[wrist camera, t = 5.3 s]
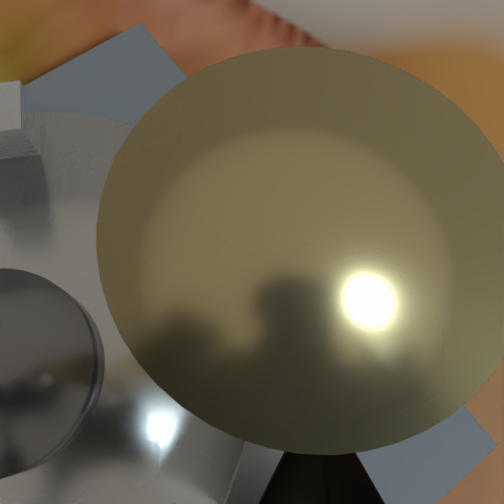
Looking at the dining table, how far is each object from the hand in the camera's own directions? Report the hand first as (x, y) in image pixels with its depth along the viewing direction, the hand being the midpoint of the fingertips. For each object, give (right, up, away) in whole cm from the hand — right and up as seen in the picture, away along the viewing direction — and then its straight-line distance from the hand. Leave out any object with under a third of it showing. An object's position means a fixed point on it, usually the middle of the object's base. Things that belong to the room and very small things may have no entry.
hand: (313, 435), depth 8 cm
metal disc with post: (-7, -1, +7) cm, 10 cm away
